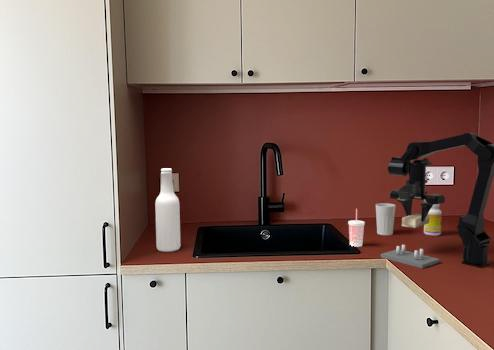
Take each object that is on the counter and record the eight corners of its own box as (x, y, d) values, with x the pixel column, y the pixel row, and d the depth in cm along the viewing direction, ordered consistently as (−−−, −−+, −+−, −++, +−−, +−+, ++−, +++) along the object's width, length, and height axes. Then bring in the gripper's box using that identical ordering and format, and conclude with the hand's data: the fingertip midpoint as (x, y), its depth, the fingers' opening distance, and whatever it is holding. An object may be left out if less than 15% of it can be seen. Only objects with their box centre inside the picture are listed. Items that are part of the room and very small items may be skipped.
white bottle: (154, 252, 177) (151, 170, 174) (159, 245, 186) (156, 167, 182) (178, 252, 177) (176, 169, 174) (182, 245, 186) (180, 167, 182)
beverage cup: (367, 245, 184) (368, 209, 182) (355, 248, 180) (356, 210, 179) (356, 242, 189) (356, 206, 187) (344, 244, 186) (344, 208, 184)
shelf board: (429, 223, 177) (429, 214, 177) (415, 228, 170) (415, 219, 169) (416, 221, 181) (416, 213, 181) (401, 225, 173) (402, 217, 173)
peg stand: (439, 262, 162) (439, 250, 161) (421, 268, 156) (422, 255, 155) (398, 252, 174) (398, 240, 174) (380, 257, 168) (381, 245, 168)
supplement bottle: (442, 236, 197) (443, 205, 196) (425, 235, 198) (426, 204, 197) (439, 232, 204) (440, 202, 202) (422, 231, 205) (423, 201, 203)
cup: (371, 232, 205) (371, 204, 204) (386, 230, 208) (387, 202, 207) (382, 236, 198) (383, 207, 196) (398, 234, 201) (399, 205, 199)
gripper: (381, 176, 175) (380, 219, 177) (429, 181, 161) (427, 228, 163) (399, 174, 182) (397, 215, 184) (446, 178, 168) (444, 223, 170)
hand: (415, 220), depth 175 cm, fingers closed on shelf board, 5 cm apart
